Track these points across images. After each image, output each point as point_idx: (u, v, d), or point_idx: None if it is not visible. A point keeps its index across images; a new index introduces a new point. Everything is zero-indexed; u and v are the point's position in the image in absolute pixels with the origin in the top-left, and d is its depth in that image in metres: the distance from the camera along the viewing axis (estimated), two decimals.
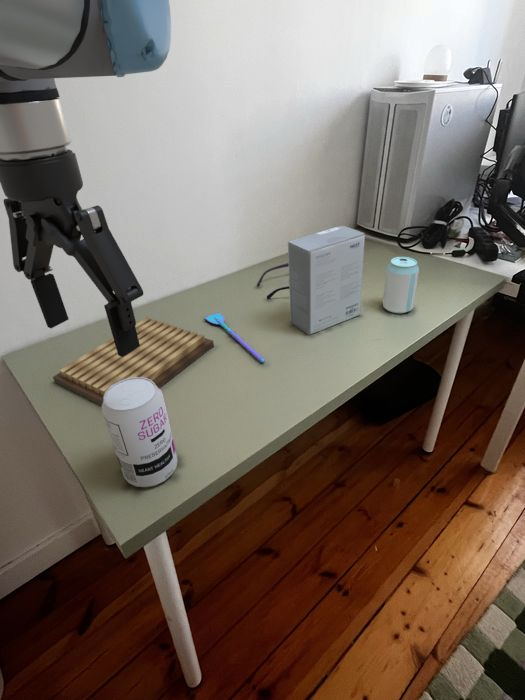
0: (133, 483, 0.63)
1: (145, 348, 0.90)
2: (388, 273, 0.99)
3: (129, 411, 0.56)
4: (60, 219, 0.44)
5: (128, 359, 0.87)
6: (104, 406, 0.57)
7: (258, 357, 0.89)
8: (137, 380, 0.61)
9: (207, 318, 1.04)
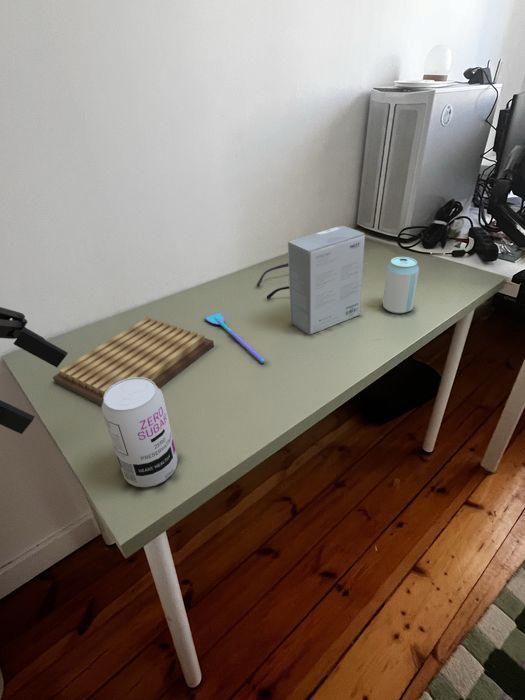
0: (133, 483, 0.63)
1: (145, 348, 0.90)
2: (388, 273, 0.99)
3: (129, 411, 0.56)
4: None
5: (128, 359, 0.87)
6: (104, 406, 0.57)
7: (258, 357, 0.89)
8: (137, 380, 0.61)
9: (207, 318, 1.04)
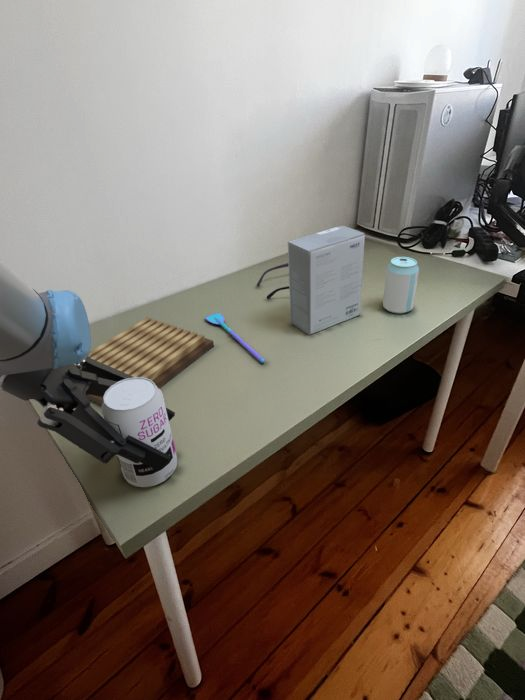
0: (133, 483, 0.63)
1: (145, 348, 0.90)
2: (388, 273, 0.99)
3: (129, 411, 0.56)
4: (70, 366, 0.59)
5: (128, 359, 0.87)
6: (104, 406, 0.57)
7: (258, 357, 0.89)
8: (137, 380, 0.61)
9: (207, 318, 1.04)
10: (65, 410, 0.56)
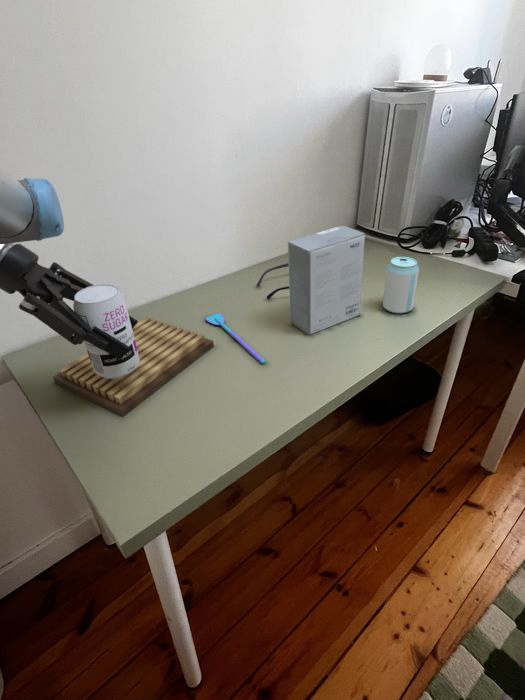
0: (101, 374, 0.76)
1: (145, 348, 0.90)
2: (388, 273, 0.99)
3: (94, 304, 0.68)
4: None
5: None
6: (75, 302, 0.70)
7: (258, 358, 0.89)
8: (103, 286, 0.74)
9: (207, 319, 1.04)
10: None
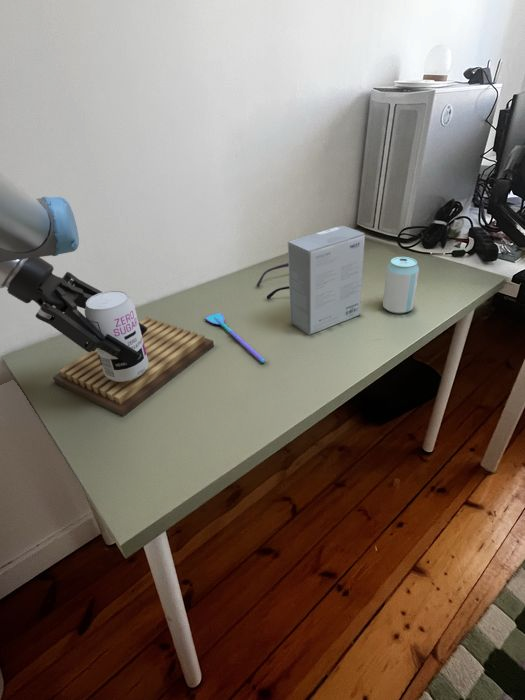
0: (112, 378, 0.78)
1: (145, 348, 0.90)
2: (388, 273, 0.99)
3: (106, 310, 0.71)
4: (62, 281, 0.74)
5: None
6: (86, 309, 0.72)
7: (258, 357, 0.89)
8: (113, 292, 0.76)
9: (207, 318, 1.04)
10: None
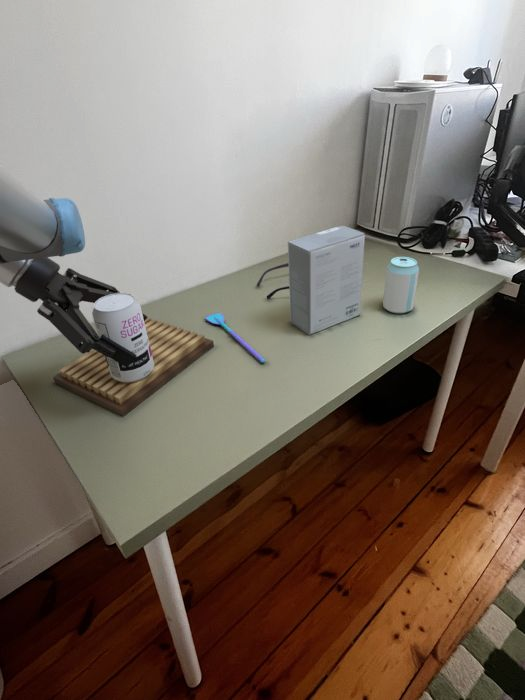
0: (118, 378, 0.79)
1: None
2: (388, 273, 0.99)
3: (113, 312, 0.72)
4: (68, 280, 0.75)
5: None
6: (94, 311, 0.74)
7: (258, 357, 0.89)
8: (120, 295, 0.77)
9: (207, 318, 1.04)
10: (64, 311, 0.72)
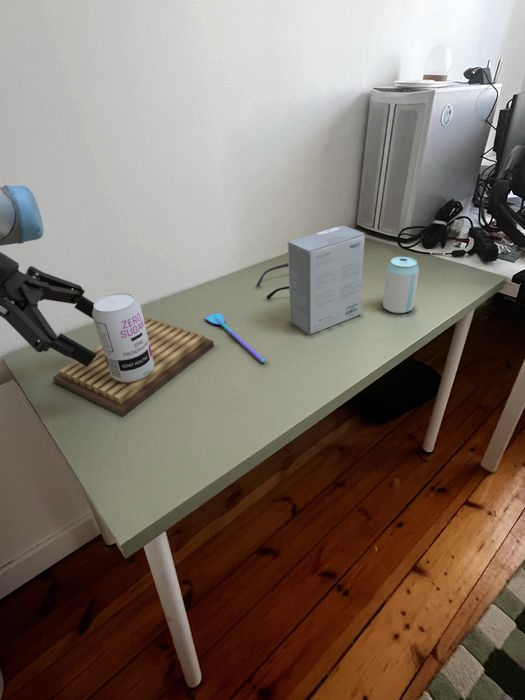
0: (118, 378, 0.79)
1: None
2: (388, 273, 0.99)
3: (113, 312, 0.72)
4: None
5: None
6: (94, 311, 0.74)
7: (258, 357, 0.89)
8: (120, 295, 0.77)
9: (207, 318, 1.04)
10: (22, 309, 0.71)
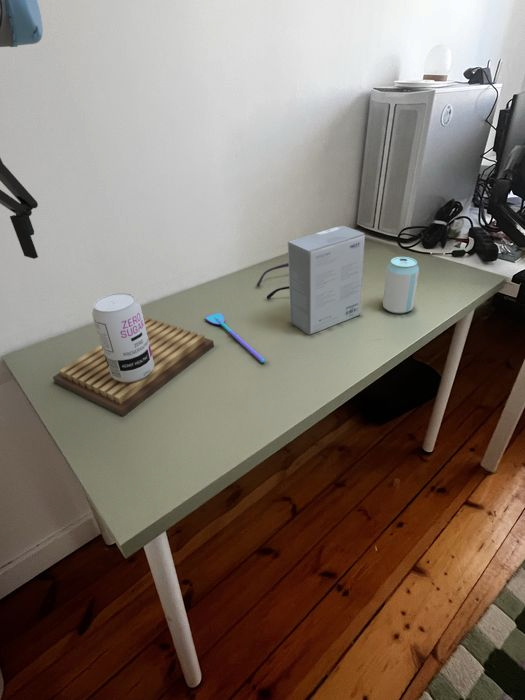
0: (118, 378, 0.79)
1: None
2: (388, 273, 0.99)
3: (113, 312, 0.72)
4: None
5: None
6: (94, 311, 0.74)
7: (258, 357, 0.89)
8: (120, 295, 0.77)
9: (207, 318, 1.04)
10: None
